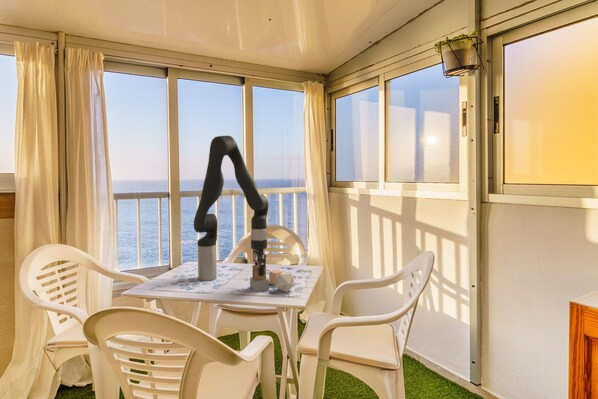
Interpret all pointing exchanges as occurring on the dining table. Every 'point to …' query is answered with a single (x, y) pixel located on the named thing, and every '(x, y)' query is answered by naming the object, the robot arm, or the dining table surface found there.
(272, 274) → the terracotta block
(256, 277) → the walnut block
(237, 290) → the dining table surface
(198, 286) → the dining table surface
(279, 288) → the die
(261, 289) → the slate block
